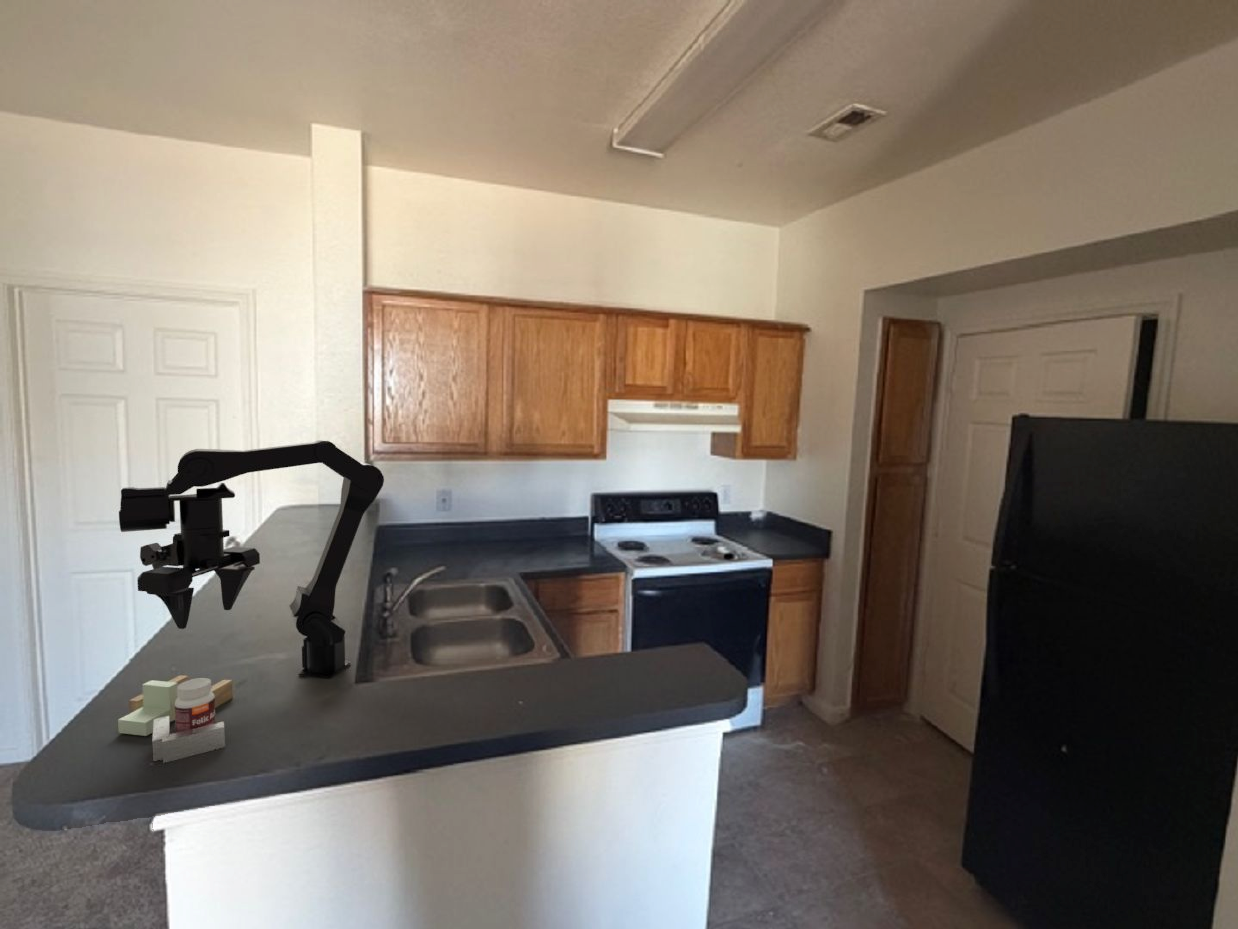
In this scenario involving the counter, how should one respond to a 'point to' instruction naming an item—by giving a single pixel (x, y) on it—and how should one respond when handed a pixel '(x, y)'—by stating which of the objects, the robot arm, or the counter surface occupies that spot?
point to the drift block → (151, 708)
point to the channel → (220, 689)
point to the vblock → (185, 740)
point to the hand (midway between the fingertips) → (205, 618)
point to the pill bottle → (194, 704)
